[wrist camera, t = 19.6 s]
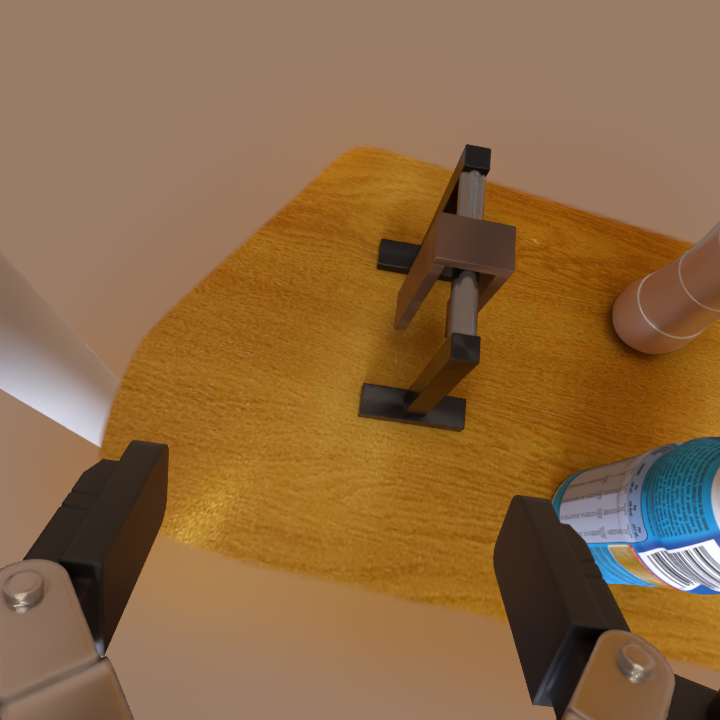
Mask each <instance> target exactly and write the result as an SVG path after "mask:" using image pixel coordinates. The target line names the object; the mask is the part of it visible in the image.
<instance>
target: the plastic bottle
mask: <svg viewBox="0 0 720 720" xmlns="http://www.w3.org/2000/svg"><path fill="white" fill-rule="evenodd" d="M612 318H613V325H614V328H615V331H616V332H617V334H618V336H619V337H620V338H621V339H622V341H623V342H625V343H626V344H627V345H628V346H630V347H631V348H633V349H636V350H638V351H640V352H643V353H647V354H663V353H667V352H671V351H675V350H678V349H680V348H682V347H684V346H685V345H687V344H688V343H689V342H691V341H692V340H693V339H695V338H696V337H697V336H698V335H699V334H700V333H701V332H702V331H703V330H704V329H706V328H707V327H709V326H710V325H712V324H713V323H715V322H716V321H718V320H719V319H720V222H719V223H718V224H717V225H716V226H715V227H714V228H713V229H712V230H711V231H710V232H709V233H708V234H707V235H706V236H705V237H704V238H702V239H701V240H700V241H699V242H698V243H696V244H695V245H694V246H693V247H692V248H691V249H690V250H688V251H687V252H686V253H684V254H683V255H682V256H681V257H680V258H678V259H676V260H675V261H673V262H671V263H670V264H668V265H666V266H665V267H663V268H661V269H660V270H658V271H656V272H654V273H651V274H648V275H646V276H644V277H642V278H640V279H638V280H636V281H634V282H633V283H631V284H629V285H628V286H627V287H626V288H625V289H624V290H623V292H622V293H621V294H620V295H619V297H618V298H617V299H616V301H615V303H614V306H613V311H612Z"/></svg>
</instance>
